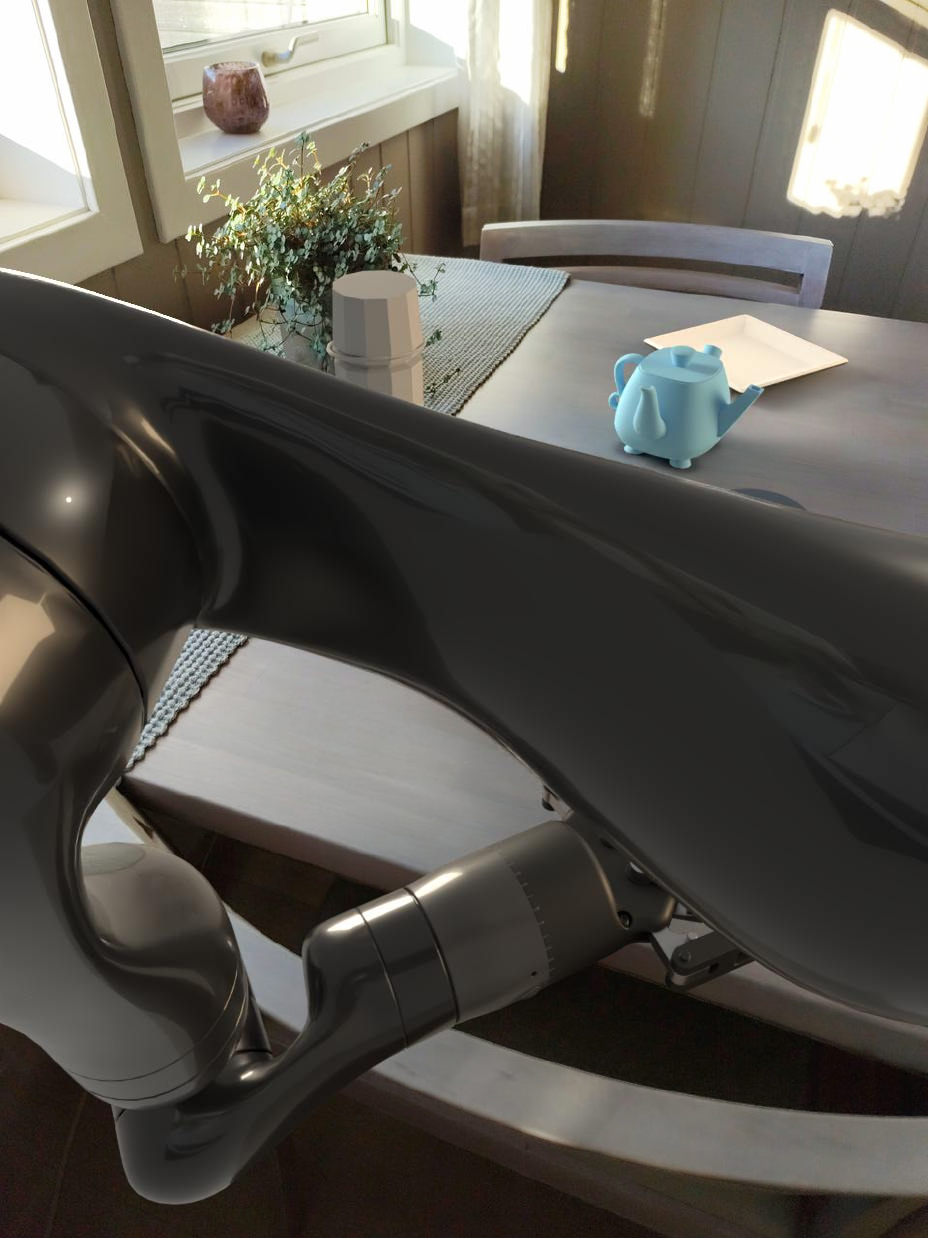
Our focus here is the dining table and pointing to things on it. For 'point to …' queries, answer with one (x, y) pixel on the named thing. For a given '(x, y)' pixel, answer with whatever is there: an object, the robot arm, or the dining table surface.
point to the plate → (753, 351)
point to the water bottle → (378, 333)
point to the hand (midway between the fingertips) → (752, 807)
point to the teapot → (676, 403)
